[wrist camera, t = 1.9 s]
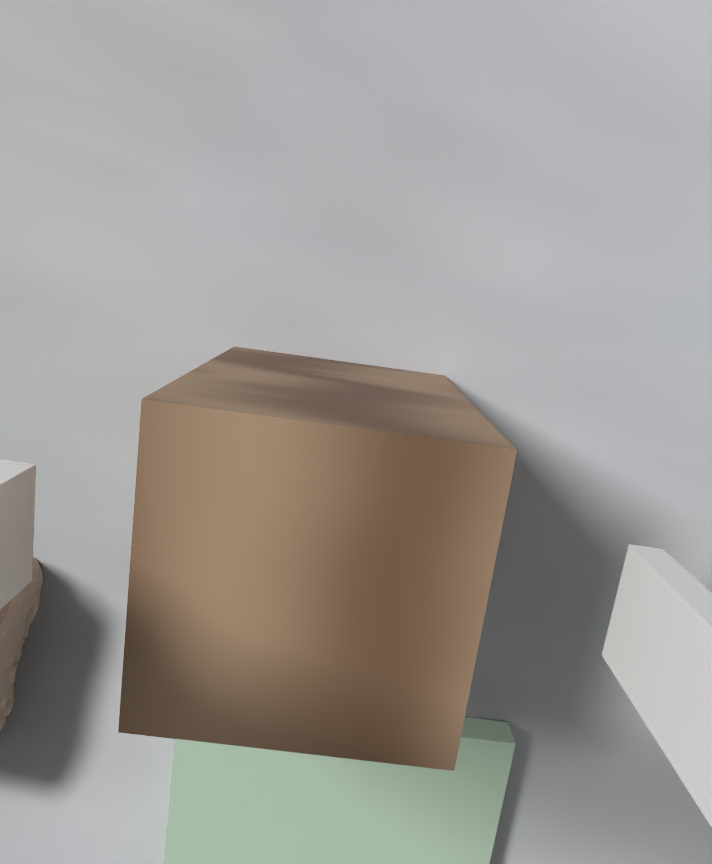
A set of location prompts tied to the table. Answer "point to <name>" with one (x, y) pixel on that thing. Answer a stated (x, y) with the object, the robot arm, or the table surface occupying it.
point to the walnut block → (311, 558)
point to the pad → (336, 805)
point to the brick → (16, 636)
